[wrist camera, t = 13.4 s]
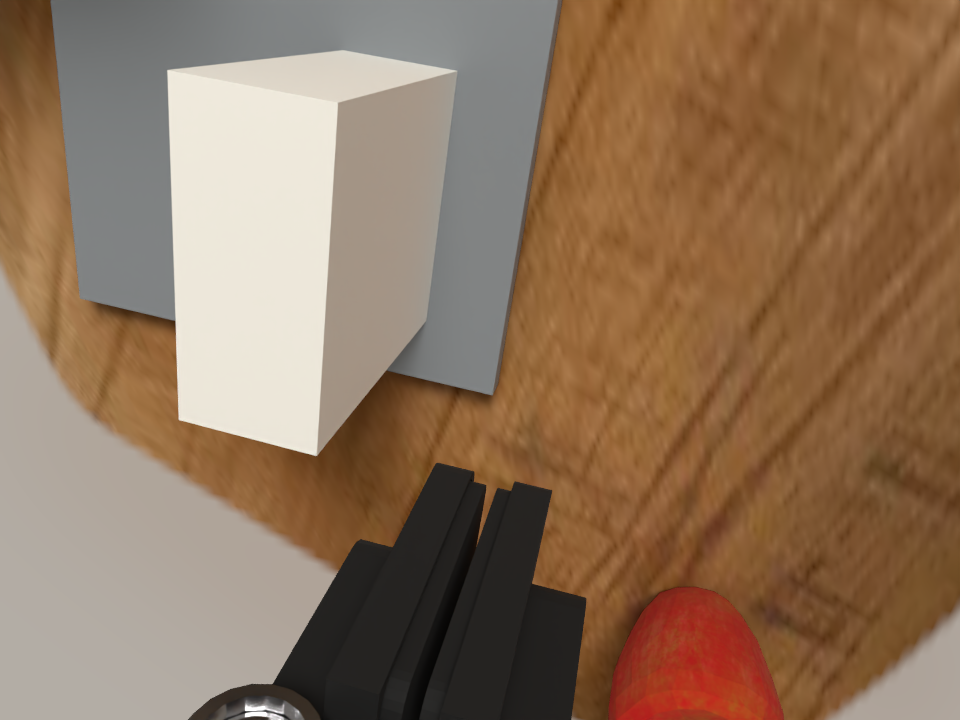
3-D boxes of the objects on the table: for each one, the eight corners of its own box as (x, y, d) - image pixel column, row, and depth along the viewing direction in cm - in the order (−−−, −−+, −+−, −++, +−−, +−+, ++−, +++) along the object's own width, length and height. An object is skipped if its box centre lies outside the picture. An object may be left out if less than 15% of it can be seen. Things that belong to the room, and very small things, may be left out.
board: (562, 0, 24) (558, 0, 24) (497, 384, 31) (492, 395, 30) (63, -77, 27) (42, -81, 26) (96, 290, 33) (80, 298, 32)
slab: (457, 70, 25) (337, 102, 16) (426, 320, 29) (316, 455, 20) (342, 50, 26) (167, 70, 17) (327, 298, 30) (178, 419, 21)
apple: (633, 675, 35) (623, 830, 28) (603, 567, 33) (585, 706, 26) (779, 670, 33) (804, 835, 27) (756, 553, 31) (778, 701, 24)
